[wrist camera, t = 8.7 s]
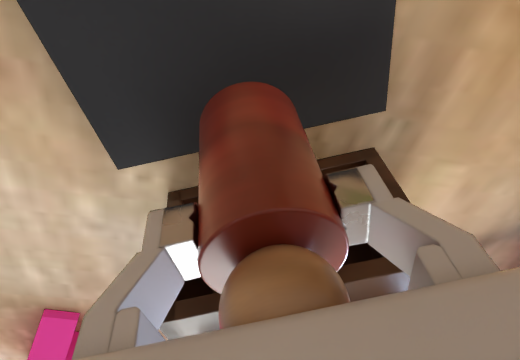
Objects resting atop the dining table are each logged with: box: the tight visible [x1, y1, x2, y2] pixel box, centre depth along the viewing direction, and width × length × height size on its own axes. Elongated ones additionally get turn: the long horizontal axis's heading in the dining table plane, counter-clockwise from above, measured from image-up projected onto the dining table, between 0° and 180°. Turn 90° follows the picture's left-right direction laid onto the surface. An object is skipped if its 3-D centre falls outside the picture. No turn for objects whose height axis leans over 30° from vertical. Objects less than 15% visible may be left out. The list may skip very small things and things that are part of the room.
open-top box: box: [159, 148, 410, 340], centre depth 25 cm, size 17×10×15 cm, turn 100°
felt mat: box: [17, 0, 396, 170], centre depth 21 cm, size 20×13×1 cm, turn 100°
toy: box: [198, 82, 350, 329], centre depth 11 cm, size 4×4×10 cm
